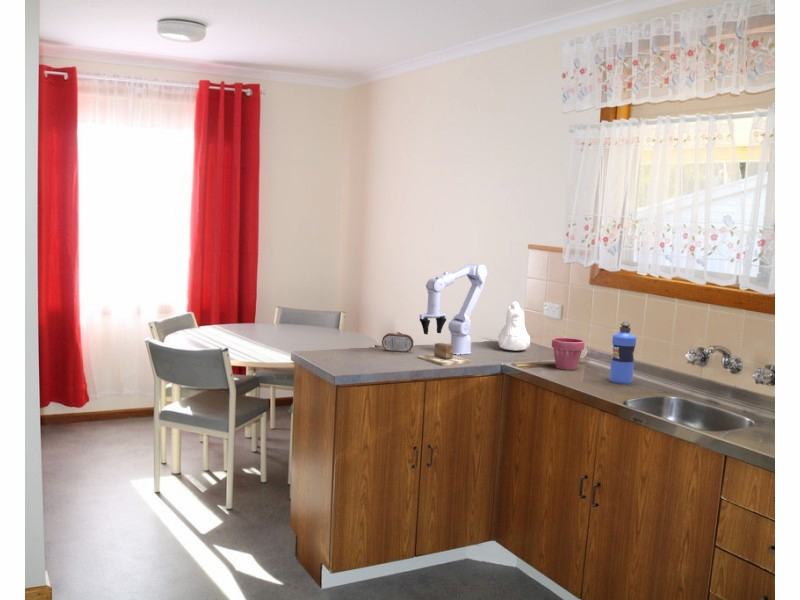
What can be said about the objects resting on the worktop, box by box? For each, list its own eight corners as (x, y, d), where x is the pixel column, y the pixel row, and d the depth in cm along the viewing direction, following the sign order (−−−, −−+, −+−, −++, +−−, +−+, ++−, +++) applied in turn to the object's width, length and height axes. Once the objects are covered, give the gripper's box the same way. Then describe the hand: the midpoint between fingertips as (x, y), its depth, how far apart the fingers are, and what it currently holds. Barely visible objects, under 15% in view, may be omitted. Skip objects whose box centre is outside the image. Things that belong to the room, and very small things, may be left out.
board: (445, 355, 336) (445, 353, 336) (470, 362, 322) (470, 360, 322) (418, 357, 327) (418, 355, 327) (442, 365, 313) (442, 363, 313)
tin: (413, 351, 342) (413, 334, 341) (412, 353, 339) (413, 335, 338) (381, 349, 343) (382, 332, 342) (381, 351, 340) (381, 333, 339)
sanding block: (440, 355, 329) (441, 342, 329) (452, 358, 323) (453, 345, 322) (434, 356, 327) (434, 343, 326) (445, 359, 321) (446, 346, 320)
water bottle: (626, 379, 302) (630, 320, 299) (636, 384, 293) (641, 323, 290) (605, 378, 301) (610, 320, 298) (615, 384, 292) (620, 323, 289)
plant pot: (554, 363, 329) (556, 335, 328) (585, 367, 323) (587, 339, 322) (546, 368, 317) (548, 340, 315) (578, 372, 311) (580, 343, 309)
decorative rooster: (528, 354, 348) (532, 304, 345) (496, 352, 351) (499, 301, 348) (530, 346, 372) (534, 298, 369) (500, 343, 375) (503, 296, 372)
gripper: (440, 303, 339) (439, 331, 340) (416, 304, 330) (414, 333, 332) (450, 304, 333) (448, 333, 334) (425, 305, 325) (423, 335, 326)
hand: (432, 333), depth 333 cm, fingers open, 7 cm apart
